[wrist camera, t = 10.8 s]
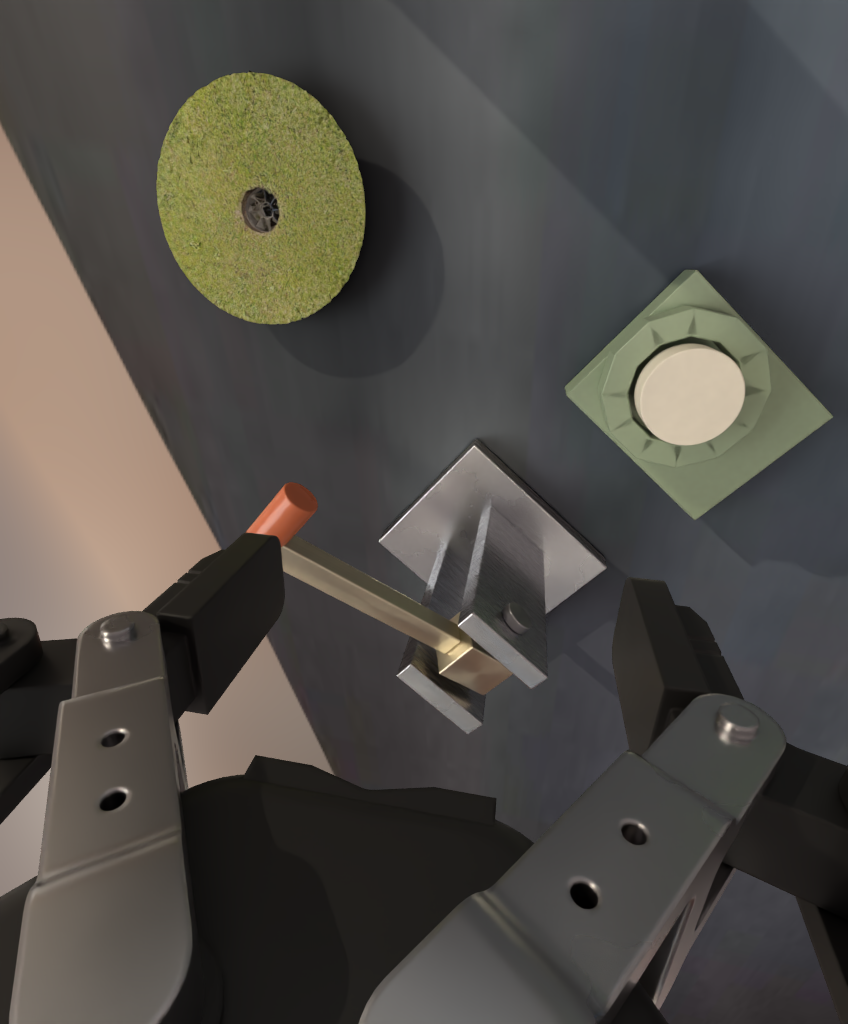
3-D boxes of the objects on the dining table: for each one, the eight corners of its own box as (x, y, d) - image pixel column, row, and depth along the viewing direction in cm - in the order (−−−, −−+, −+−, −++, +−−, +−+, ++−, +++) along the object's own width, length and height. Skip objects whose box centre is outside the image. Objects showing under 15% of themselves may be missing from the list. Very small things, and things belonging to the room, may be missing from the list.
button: (614, 392, 27) (619, 400, 26) (690, 322, 25) (700, 326, 24) (675, 453, 28) (683, 464, 26) (753, 388, 26) (768, 396, 24)
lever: (221, 551, 23) (207, 592, 21) (288, 468, 21) (279, 506, 19) (456, 669, 28) (462, 711, 26) (528, 614, 26) (540, 654, 24)
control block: (562, 385, 31) (566, 400, 27) (683, 266, 28) (705, 266, 24) (684, 505, 32) (703, 535, 29) (813, 406, 29) (853, 426, 25)
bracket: (382, 532, 37) (313, 654, 25) (476, 437, 33) (446, 529, 21) (502, 636, 38) (489, 796, 27) (605, 557, 34) (640, 702, 23)
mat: (137, 179, 31) (113, 174, 29) (288, 26, 27) (270, 9, 25) (262, 358, 33) (246, 363, 32) (415, 244, 29) (407, 243, 28)
